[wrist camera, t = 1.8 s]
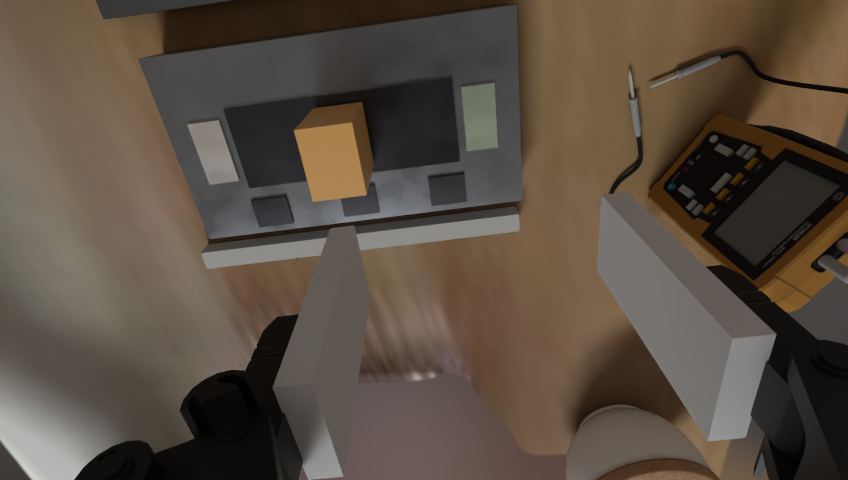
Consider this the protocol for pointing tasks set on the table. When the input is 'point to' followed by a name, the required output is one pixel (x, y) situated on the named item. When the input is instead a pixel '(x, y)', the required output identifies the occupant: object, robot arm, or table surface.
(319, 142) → the orange rectangular block
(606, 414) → the lidded bowl
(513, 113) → the grey control panel
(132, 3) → the dark grey bar
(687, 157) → the multimeter
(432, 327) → the table surface
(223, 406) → the robot arm
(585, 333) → the table surface
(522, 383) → the table surface
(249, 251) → the light grey rod
